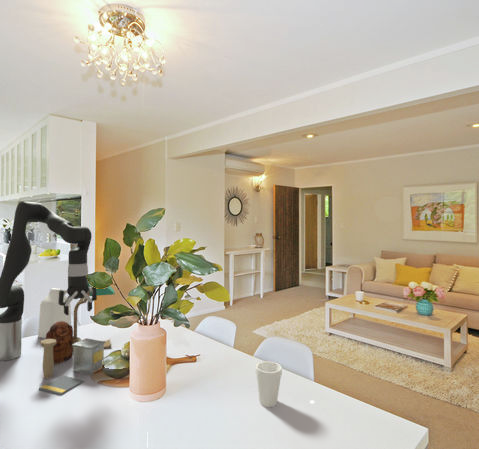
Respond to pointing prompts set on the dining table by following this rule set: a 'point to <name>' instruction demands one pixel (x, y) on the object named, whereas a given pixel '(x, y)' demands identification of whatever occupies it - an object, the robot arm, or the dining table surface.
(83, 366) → the tin
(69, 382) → the mat
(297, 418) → the dining table surface
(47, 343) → the handle
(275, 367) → the foam cup
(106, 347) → the banker's lamp
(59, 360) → the wooden figurine
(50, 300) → the milk
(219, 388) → the dining table surface
